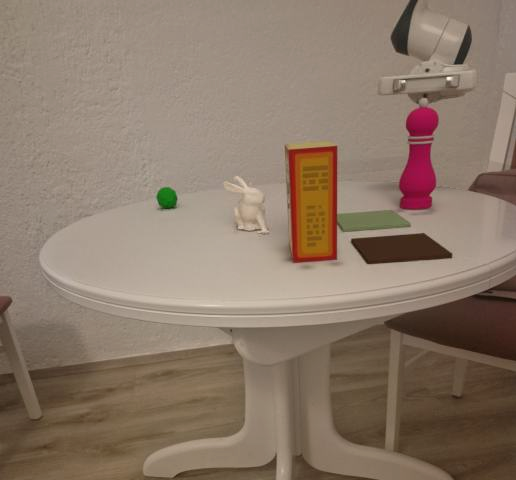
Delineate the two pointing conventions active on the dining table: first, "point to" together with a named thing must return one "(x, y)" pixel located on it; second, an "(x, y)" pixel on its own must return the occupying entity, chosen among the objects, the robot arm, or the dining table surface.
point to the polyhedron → (167, 198)
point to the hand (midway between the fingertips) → (425, 83)
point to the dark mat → (399, 248)
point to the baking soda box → (312, 200)
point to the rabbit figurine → (248, 206)
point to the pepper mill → (419, 159)
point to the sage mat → (371, 220)
